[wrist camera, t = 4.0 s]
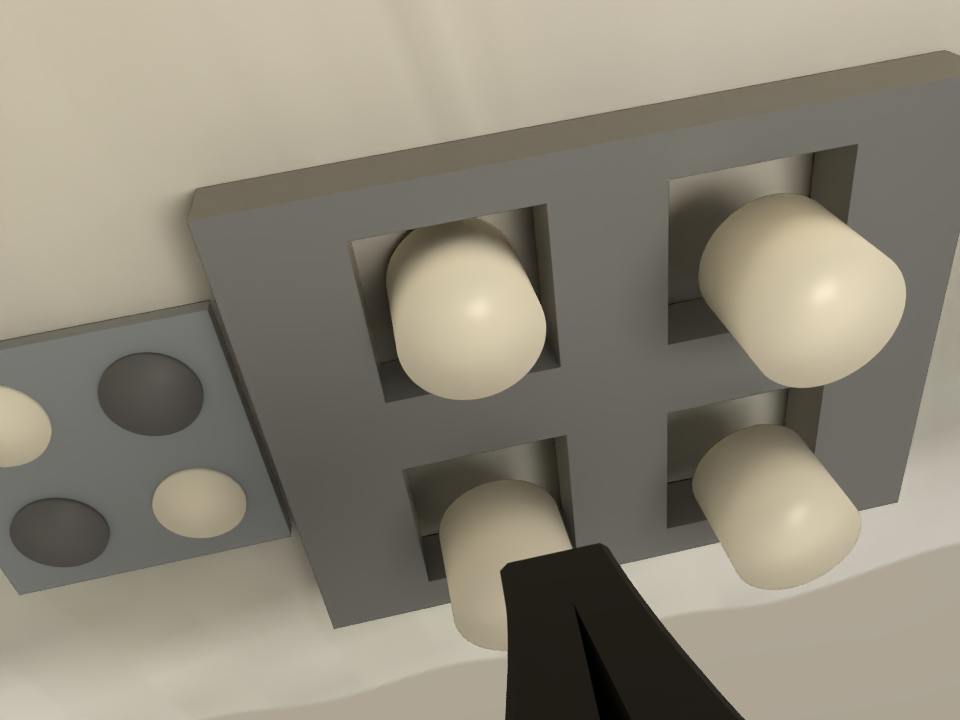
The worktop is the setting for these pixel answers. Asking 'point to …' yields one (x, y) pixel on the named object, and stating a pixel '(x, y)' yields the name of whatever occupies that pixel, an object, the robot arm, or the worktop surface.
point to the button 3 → (774, 507)
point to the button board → (574, 314)
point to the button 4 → (800, 290)
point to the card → (127, 450)
